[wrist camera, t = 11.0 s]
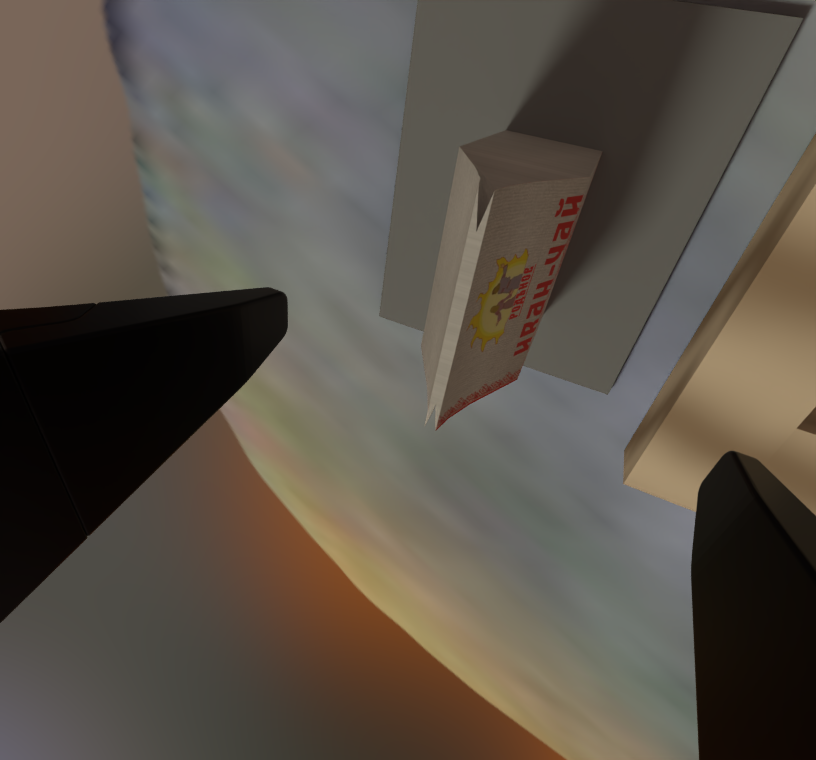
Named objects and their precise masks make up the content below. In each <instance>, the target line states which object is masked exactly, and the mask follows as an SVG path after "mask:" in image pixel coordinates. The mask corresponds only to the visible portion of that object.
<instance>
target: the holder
mask: <svg viewBox="0 0 816 760" xmlns="http://www.w3.org/2000/svg"><path fill="white" fill-rule="evenodd" d="M728 451H737V452H740V453H742V454H745V455H748V456H751V457H754V458H756V459H758V460H759V461H760V462H761V463H762V464H763V465H764V466H765V467H766V468H767V469H768V470H769V471H770V472H771V473H772V474H773V475H774V476H775V477H776V478H777V479H778V480H780V481H781V482H782V483H783V484H784V485H785V486H786V487H787V488H788V489H789V490H790V491H791V492H792V493H793V494H794V495H795V496H796V497H797V498H798V499H799V500H800V501H801V502H802V503H803V504H804V505H805V506H806V507H807V508H808V509H809V510H810V511H811V512H813V513H814V514H815V515H816V134H815V135H814V137H813V139H812V140H811V142H810V144H809V145H808V147H807V149H806V150H805V152H804V154H803V155H802V157H801V159H800V160H799V162H798V164H797V165H796V167H795V169H794V170H793V172H792V174H791V175H790V177H789V179H788V180H787V182H786V183H785V185H784V187H783V188H782V190H781V192H780V193H779V195H778V197H777V198H776V200H775V202H774V203H773V205H772V207H771V208H770V210H769V212H768V213H767V215H766V217H765V218H764V220H763V222H762V223H761V225H760V227H759V228H758V230H757V232H756V233H755V235H754V236H753V238H752V240H751V241H750V243H749V245H748V246H747V248H746V250H745V251H744V253H743V255H742V256H741V258H740V260H739V261H738V263H737V265H736V266H735V268H734V270H733V271H732V273H731V275H730V276H729V278H728V280H727V281H726V283H725V285H724V286H723V288H722V290H721V291H720V293H719V294H718V296H717V298H716V299H715V301H714V303H713V304H712V306H711V308H710V309H709V311H708V313H707V314H706V316H705V318H704V319H703V321H702V323H701V324H700V326H699V328H698V329H697V331H696V333H695V334H694V336H693V338H692V339H691V341H690V343H689V344H688V346H687V347H686V349H685V351H684V352H683V354H682V356H681V357H680V359H679V361H678V362H677V364H676V366H675V367H674V369H673V371H672V372H671V374H670V376H669V377H668V379H667V381H666V382H665V384H664V386H663V387H662V389H661V391H660V392H659V394H658V396H657V397H656V399H655V400H654V402H653V404H652V405H651V407H650V409H649V410H648V412H647V414H646V415H645V417H644V419H643V420H642V422H641V424H640V425H639V427H638V429H637V430H636V432H635V434H634V435H633V437H632V439H631V440H630V442H629V444H628V445H627V447H626V449H625V450H624V479H623V484H625V485H628V486H630V487H633V488H635V489H638V490H641V491H643V492H646V493H648V494H651V495H653V496H656V497H659V498H661V499H664V500H666V501H669V502H672V503H674V504H677V505H679V506H682V507H685V508H687V509H690V510H692V511H695V512H696V508H697V497H698V491H699V488H700V485H701V483H702V481H703V480H704V479H705V477H706V476H707V475H708V474H709V472H710V471H711V470H712V468H713V467H714V466H715V465H716V463H717V462H718V461H719V460H720V458H721V457H722V456H723V455H724V454H725V453H726V452H728Z"/></svg>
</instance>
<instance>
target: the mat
mask: <svg viewBox="0 0 816 760" xmlns="http://www.w3.org/2000/svg"><path fill="white" fill-rule="evenodd" d="M802 20H803V18H798V17H791V16H784V15H776V14H769V13H762V12H754V11H747V10H740V9H732V8H725V7H718V6H711V5H703V4H696V3H689V2H681V1H674V0H418V3H417V11H416V19H415V27H414V35H413V44H412V52H411V60H410V68H409V76H408V85H407V93H406V101H405V109H404V117H403V126H402V134H401V142H400V150H399V158H398V167H397V175H396V183H395V191H394V199H393V208H392V216H391V224H390V232H389V241H388V249H387V257H386V265H385V273H384V282H383V290H382V298H381V306H380V314H379V316H380V317H383V318H386V319H389V320H392V321H395V322H398V323H400V324H403V325H406V326H409V327H412V328H415V329H418V330H421V331H424V328H425V323H426V318H427V313H428V307H429V302H430V297H431V292H432V287H433V281H434V276H435V271H436V266H437V261H438V255H439V250H440V245H441V240H442V235H443V229H444V224H445V219H446V214H447V209H448V203H449V198H450V193H451V188H452V183H453V177H454V172H455V167H456V162H457V156H458V151H459V146H462V145H465V144H468V143H471V142H473V141H476V140H479V139H482V138H485V137H488V136H490V135H493V134H496V133H499V132H502V131H505V130H508V131H512V132H517V133H521V134H526V135H530V136H535V137H539V138H544V139H549V140H553V141H558V142H562V143H567V144H571V145H576V146H581V147H585V148H590V149H594V150H599V151H603V152H602V154H601V157H600V160H599V163H598V165H597V168H596V171H595V174H594V176H593V179H592V182H591V185H590V187H589V190H588V193H587V196H586V198H585V201H584V204H583V207H582V209H581V212H580V215H579V218H578V220H577V223H576V226H575V229H574V232H573V234H572V237H571V240H570V243H569V245H568V248H567V251H566V254H565V256H564V259H563V262H562V265H561V267H560V270H559V273H558V276H557V278H556V281H555V284H554V287H553V289H552V292H551V295H550V298H549V300H548V303H547V306H546V309H545V311H544V314H543V317H542V319H541V321H540V324H539V326H538V329H537V331H536V334H535V336H534V339H533V341H532V344H531V346H530V349H529V351H528V354H527V356H526V359H525V361H524V363H523V366H526V367H529V368H532V369H535V370H538V371H540V372H543V373H546V374H549V375H552V376H555V377H558V378H561V379H564V380H567V381H570V382H572V383H575V384H578V385H581V386H584V387H587V388H590V389H593V390H596V391H599V392H602V393H605V394H607V395H608V393H609V391H610V390H611V388H612V386H613V384H614V382H615V380H616V378H617V376H618V374H619V372H620V370H621V368H622V366H623V365H624V363H625V361H626V359H627V357H628V355H629V353H630V351H631V349H632V347H633V345H634V343H635V341H636V340H637V338H638V336H639V334H640V332H641V330H642V328H643V326H644V324H645V322H646V320H647V318H648V316H649V315H650V313H651V311H652V309H653V307H654V305H655V303H656V301H657V299H658V297H659V295H660V293H661V291H662V290H663V288H664V286H665V284H666V282H667V280H668V278H669V276H670V274H671V272H672V270H673V268H674V266H675V265H676V263H677V261H678V259H679V257H680V255H681V253H682V251H683V249H684V247H685V245H686V243H687V241H688V240H689V238H690V236H691V234H692V232H693V230H694V228H695V226H696V224H697V222H698V220H699V218H700V216H701V215H702V213H703V211H704V209H705V207H706V205H707V203H708V201H709V199H710V197H711V195H712V193H713V191H714V190H715V188H716V186H717V184H718V182H719V180H720V178H721V176H722V174H723V172H724V170H725V168H726V166H727V165H728V163H729V161H730V159H731V157H732V155H733V153H734V151H735V149H736V147H737V145H738V143H739V141H740V140H741V138H742V136H743V134H744V132H745V130H746V128H747V126H748V124H749V122H750V120H751V118H752V116H753V115H754V113H755V111H756V109H757V107H758V105H759V103H760V101H761V99H762V97H763V95H764V93H765V91H766V89H767V88H768V86H769V84H770V82H771V80H772V78H773V76H774V74H775V72H776V70H777V68H778V66H779V64H780V63H781V61H782V59H783V57H784V55H785V53H786V51H787V49H788V47H789V45H790V43H791V41H792V39H793V38H794V36H795V34H796V32H797V30H798V28H799V26H800V24H801V22H802Z"/></svg>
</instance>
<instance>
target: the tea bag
mask: <svg viewBox="0 0 816 760" xmlns="http://www.w3.org/2000/svg"><path fill="white" fill-rule="evenodd" d="M602 152H603V151H599V150H594V149H590V148H585V147H581V146H576V145H571V144H567V143H562V142H558V141H553V140H549V139H544V138H539V137H535V136H530V135H526V134H521V133H517V132H512V131H508V130H505V131H502V132H499V133H496V134H493V135H490V136H488V137H485V138H482V139H479V140H476V141H473V142H471V143H468V144H465V145H462V146H459V151H458V156H457V162H456V167H455V172H454V177H453V183H452V188H451V193H450V198H449V203H448V209H447V214H446V219H445V224H444V229H443V235H442V240H441V245H440V250H439V255H438V261H437V266H436V271H435V276H434V281H433V287H432V292H431V297H430V302H429V307H428V313H427V318H426V323H425V328H424V333H423V339H422V344H421V348H422V355H423V362H424V369H425V375H426V382H427V391H428V413H427V417H426V422H425V425H426V423H427V421H428V419H429V417H430V415H431V414H432V412H433V410H434V408H435V406H436V408H435V431H436V430H437V429H438V428H439V427H440V426H441V425H442V424H443V423H444V422H445V421H446V420H447V419H448V418H450V417H451V416H453V415H454V414H456V413H457V412H459V411H460V410H462V409H463V408H465V407H466V406H468V405H469V404H471V403H473V402H475V401H477V400H479V399H481V398H483V397H485V396H486V395H488V394H490V393H492V392H494V391H496V390H498V389H500V388H502V387H504V386H506V385H508V384H509V383H511V382H513V381H515V380H517V378H518V376H519V373H520V371H521V368H522V366H523V363H524V361H525V359H526V356H527V354H528V351H529V349H530V346H531V344H532V341H533V339H534V336H535V334H536V331H537V329H538V326H539V324H540V321H541V319H542V317H543V314H544V311H545V309H546V306H547V303H548V300H549V298H550V295H551V292H552V289H553V287H554V284H555V281H556V278H557V276H558V273H559V270H560V267H561V265H562V262H563V259H564V256H565V254H566V251H567V248H568V245H569V243H570V240H571V237H572V234H573V232H574V229H575V226H576V223H577V220H578V218H579V215H580V212H581V209H582V207H583V204H584V201H585V198H586V196H587V193H588V190H589V187H590V185H591V182H592V179H593V176H594V174H595V171H596V168H597V165H598V163H599V160H600V157H601V154H602Z"/></svg>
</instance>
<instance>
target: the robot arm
mask: <svg viewBox="0 0 816 760" xmlns="http://www.w3.org/2000/svg"><path fill="white" fill-rule="evenodd" d="M287 328H288V302H287V296H286V295H285V294H284V293H283V292H281V291H278V290H276V289H273V288H269V287H265V288H254V289H243V290H232V291H221V292H210V293H199V294H188V295H177V296H166V297H155V298H144V299H133V300H123V301H111V302H100V303H98V304H95V303H88V304H77V305H65V306H53V307H41V308H26V309H25V308H24V309H7V310H0V623H1V622H2V621H3V620H4V619H5V618H6V617H7V616H8V615H9V614H10V613H11V612H12V611H13V610H14V609H15V608H16V607H17V606H18V605H19V604H20V603H21V602H22V601H23V600H24V599H25V598H26V597H28V596H29V595H30V594H31V593H32V592H33V591H34V590H35V589H36V588H37V587H38V586H39V585H40V584H41V583H42V582H43V581H44V580H45V579H46V578H47V577H48V576H49V575H50V574H51V573H52V572H53V571H54V570H55V569H56V568H57V567H58V566H59V565H60V564H61V563H62V562H63V561H64V560H65V559H66V558H67V557H68V556H69V555H70V554H72V553H73V552H74V551H75V550H76V549H77V548H78V547H79V546H80V544H82V543H83V542H84V541H85V540H86V539H87V536H89V535H91V534H92V533H93V532H94V531H95V530H96V529H97V528H98V527H99V526H100V525H101V524H102V523H103V522H104V521H105V520H106V519H107V518H108V517H109V516H110V515H111V514H112V513H113V512H114V511H115V510H116V509H117V508H118V507H119V506H120V505H121V504H122V503H123V502H124V501H125V500H126V499H127V498H128V497H130V495H132V494H133V493H134V492H135V491H136V490H137V489H138V488H139V487H140V486H141V485H142V484H143V483H144V482H145V481H146V480H147V479H148V478H149V477H150V476H151V475H152V474H153V473H154V472H155V471H156V470H157V469H158V468H159V467H160V466H161V465H162V464H163V463H164V462H165V461H166V460H167V459H168V458H169V457H171V456H172V454H174V453H175V451H177V450H178V449H179V448H180V447H181V446H182V445H183V444H184V443H185V442H186V441H187V440H188V439H189V438H190V437H191V436H192V435H193V434H194V433H195V432H196V431H197V430H198V429H199V428H200V427H201V426H202V425H203V424H204V423H205V422H206V421H207V420H208V419H209V418H210V417H211V416H212V415H214V414H215V413H216V412H217V411H218V410H219V409H220V408H221V407H222V406H223V405H224V404H225V403H226V402H227V401H228V400H229V399H230V398H231V397H232V396H233V395H234V394H235V393H236V392H237V391H238V390H239V389H240V388H241V387H242V386H243V385H244V384H245V383H246V382H247V381H248V380H249V378H250V377H251V376H252V375H253V374H254V373H255V371H256V370H257V369H258V368H259V367H260V365H261V364H262V363H263V362H264V361H265V359H266V358H267V357H268V356H269V354H270V353H271V352H272V351H273V350H274V348H275V347H276V346H277V345H278V343H279V342H280V341H281V340H282V339H283V337H284V336H285V334H286V332H287ZM691 585H692V608H693V631H694V654H695V677H696V700H697V723H698V746H699V760H816V515H815V514H814V513H813V512H811V511H810V510H809V509H808V508H807V507H806V506H805V505H804V504H803V503H802V502H801V501H800V500H799V499H798V498H797V497H796V496H795V495H794V494H793V493H792V492H791V491H790V490H789V489H788V488H787V487H786V486H785V485H784V484H783V483H782V482H781V481H780V480H778V479H777V478H776V477H775V476H774V475H773V474H772V473H771V472H770V471H769V470H768V469H767V468H766V467H765V466H764V465H763V464H762V463H761V462H760V461H759V460H758V459H756V458H754V457H751V456H748V455H745V454H742V453H740V452H737V451H728V452H726V453H725V454H724V455H723V456H722V457H721V458H720V460H719V461H718V462H717V463H716V465H715V466H714V467H713V468H712V470H711V471H710V472H709V474H708V475H707V476H706V477H705V479H704V480H703V481H702V483H701V485H700V488H699V491H698V497H697V508H696V518H695V528H694V539H693V549H692V562H691Z"/></svg>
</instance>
